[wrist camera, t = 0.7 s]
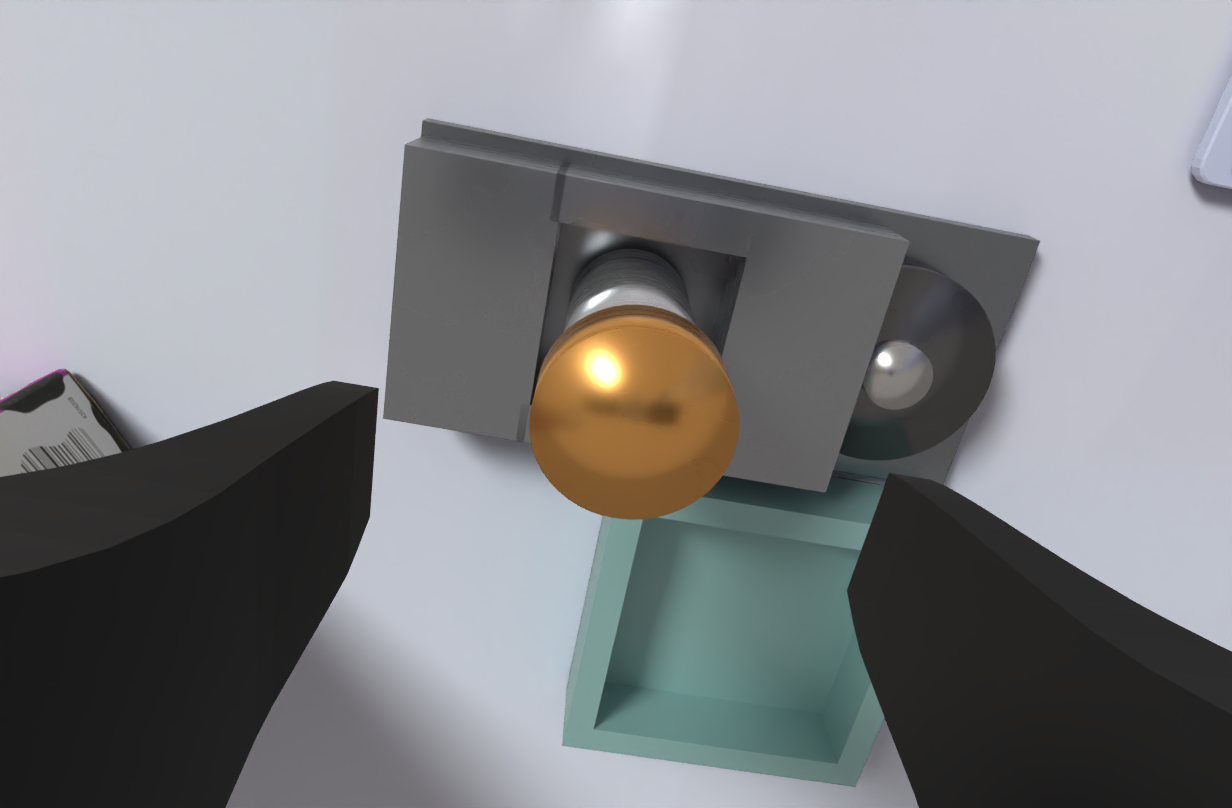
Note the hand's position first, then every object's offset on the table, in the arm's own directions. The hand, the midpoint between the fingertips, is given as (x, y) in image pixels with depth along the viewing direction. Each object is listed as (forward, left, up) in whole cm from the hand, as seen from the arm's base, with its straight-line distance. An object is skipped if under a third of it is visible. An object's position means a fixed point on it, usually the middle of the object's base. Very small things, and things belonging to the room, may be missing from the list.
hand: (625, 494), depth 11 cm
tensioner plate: (-2, 0, -10) cm, 11 cm away
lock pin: (0, 0, -10) cm, 10 cm away
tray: (-5, +9, -10) cm, 15 cm away
